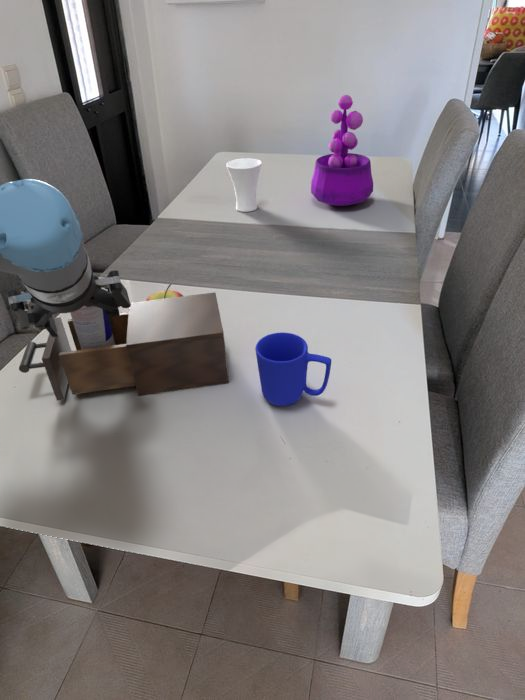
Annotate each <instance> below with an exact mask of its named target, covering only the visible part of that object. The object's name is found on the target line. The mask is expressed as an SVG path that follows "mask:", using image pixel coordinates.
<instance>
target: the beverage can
mask: <svg viewBox="0 0 525 700" xmlns="http://www.w3.org/2000/svg"><path fill="white" fill-rule="evenodd" d="M70 316H71V319H72V320H73V323H74V327H75V330H76V333H77V336H78V340H79V343H80V346H81V349H82V350H83V349H91V348H98V347H106V346H114V345H115V341H114V337H113V334H112V330H111V326H110V325H109V323H108V320H107V317H106V313H105V310H104V309H101V308H98V307H95V306H91V307H86V306H83V307H82V308H80V309H78V310H76V311H74V312H70Z"/></svg>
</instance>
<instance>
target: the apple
mask: <svg viewBox="0 0 525 700" xmlns="http://www.w3.org/2000/svg"><path fill="white" fill-rule="evenodd" d="M171 286H172V283H169V285H168V286H167V287H166V289H165V290H162V291H158V292H154V293H152V294H150V295H149V296H148V297H147V298H146V299H145V301H149V300H157V299H165V298H173V297H181V296H184V295H183V294H182V293H180V292H178V291H176V290H172V289H171V290H170V287H171Z"/></svg>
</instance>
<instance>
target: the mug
mask: <svg viewBox="0 0 525 700" xmlns="http://www.w3.org/2000/svg"><path fill="white" fill-rule="evenodd" d="M254 349H255V356H256V362H257V363H256V364H257V369H258V376H259V381H260V388H261V393H262V396H263V397H264V399H265V400H266V401H267V402H268V403H270V404H272V405H275V406H280V407H286V406H290V405H293V404H295V403H297V402H298V401H299V400H301V398H302V395H303V393H305V394H307V395H309V396H312V397H316V396H317V397H318V396H320V395H322V394H323V393H324V392H325V390H326V388H327V386H328V383H329V379H330V376H331V375H330V374H331V369H332V368H331V367H332V358H330V357H328V356H325V355H320V354H315V353H309V346H308V343H307V341H306V340H305V339H304V338H303V337H301V336H300V335H298V334H295V333H291V332H273V333H270V334H267V335H265V336H263V337H262V338H260V339H259V340H258V341H257V342H256V344H255V348H254ZM310 362H315V363H316V362H317V363H321V364H324V365H325V372H324V379H323V382H322V385H321V386H320V387H319V388H315V389H313V388H310V387H309V386H307V377H308V365H309V363H310Z"/></svg>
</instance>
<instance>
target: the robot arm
mask: <svg viewBox="0 0 525 700" xmlns="http://www.w3.org/2000/svg"><path fill="white" fill-rule="evenodd" d="M72 207H73V206H72V204H70V202H69V200H68V199H67V198H66V197H65V195H64V194H63V193H62V192H61V191H60V190H58V188H56V187H54V186H53V185H51V184H49V183H47V182H45V181H42V180H38V179H33V178H24V179H19V180H14V181H8V182H5V183H3V184H1V185H0V272H2V273H7V274H12V275H15V276H16V277H17V278H18V280H19V281H20V282H21V283H22V285H23V286H24V287H25V289H26V291H28V292H25V291H18V290H17V289H11V290H8V291H7V292H6V295H7V300H8V305H9V309H10V312H11V313H13V314H15V315H17V318H18V319H17V321H18V324H19V329H20V330H22V331H26V330H28V329H31V326H34V328H35V329H36V328H37V329H38V330H40V331H42V330H46V331H47V332H48V334H49V333H50V334H51V336H52V337H58V334H57V330H56V325H55V321H54V317H53V315H58V314H69V313H70V312H74V311H76V310H78V309H80V308H82V307H83V306H86V307H91V306H95V307H98V308H101V309H104V310H105V313H106V317H107V320H108V323H109V325H113V324H114V323H113V319H112V317H116V316H119V315H120V313H121V312H120V309H119V308H120V307H121V308H122V309H129V307H130V306H131V305H130V303H131V300H130V297H129V293H128V290H127V288H126V287H125V285H124V284H123V283H122V281H121V277H120V274H119V270H111V271H109V273H108V274H106V275H104V277H101V278H100V277H99V276H97V275H96V274H94V271H93V268H92V265H91V260H90V258H89V254H88V251H87V249H86V246H85V242H84V239H83V238H84V237H83V235H84V234H83V232H82V225H81V223H80V220H79V218H78V216H77V214H76V212H74V210H73V208H72ZM31 304H32V305H31ZM29 306H30V310H31V312H28V311H29Z"/></svg>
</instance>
